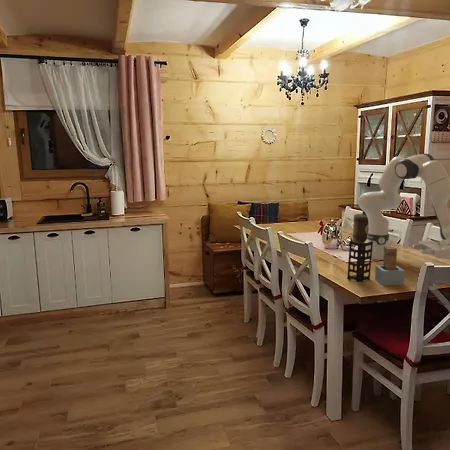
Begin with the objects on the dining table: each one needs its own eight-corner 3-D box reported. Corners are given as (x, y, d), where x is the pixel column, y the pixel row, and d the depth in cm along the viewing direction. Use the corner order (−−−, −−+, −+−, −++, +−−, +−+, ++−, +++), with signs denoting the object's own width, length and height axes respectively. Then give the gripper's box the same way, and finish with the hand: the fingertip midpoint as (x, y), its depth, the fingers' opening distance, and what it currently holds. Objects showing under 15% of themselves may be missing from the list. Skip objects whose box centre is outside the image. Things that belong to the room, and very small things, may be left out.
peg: (382, 278, 205) (383, 246, 202) (391, 278, 205) (393, 246, 202) (386, 281, 201) (387, 248, 198) (395, 281, 201) (396, 248, 198)
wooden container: (370, 244, 284) (372, 211, 280) (349, 241, 293) (350, 210, 289) (377, 240, 296) (379, 209, 292) (357, 237, 305) (358, 207, 301)
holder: (367, 276, 212) (369, 238, 207) (373, 282, 205) (375, 243, 199) (345, 277, 212) (347, 239, 206) (350, 283, 205) (352, 244, 199)
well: (374, 279, 208) (375, 265, 207) (395, 278, 208) (395, 264, 207) (382, 285, 198) (382, 271, 197) (403, 284, 198) (404, 270, 197)
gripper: (436, 237, 212) (408, 238, 212) (457, 247, 191) (427, 247, 192) (435, 249, 213) (407, 250, 213) (456, 260, 193) (426, 261, 193)
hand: (417, 249), depth 202 cm, fingers open, 8 cm apart
